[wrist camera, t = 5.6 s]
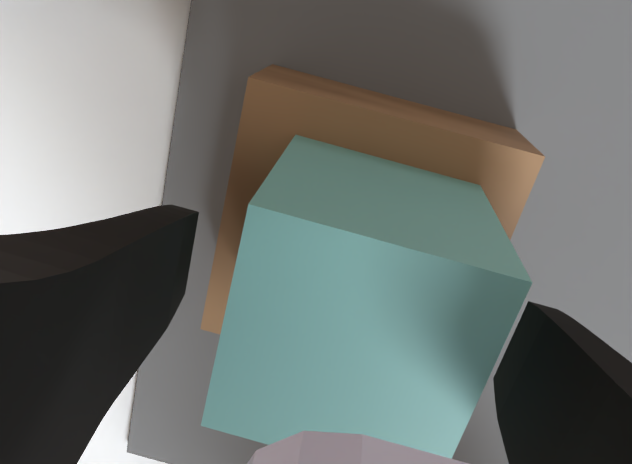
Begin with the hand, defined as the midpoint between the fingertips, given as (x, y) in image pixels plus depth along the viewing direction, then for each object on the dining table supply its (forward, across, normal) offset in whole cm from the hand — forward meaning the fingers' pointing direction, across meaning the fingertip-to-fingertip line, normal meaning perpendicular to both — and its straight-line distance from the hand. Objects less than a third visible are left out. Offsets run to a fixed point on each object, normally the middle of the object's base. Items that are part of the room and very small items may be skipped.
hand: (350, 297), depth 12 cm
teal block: (+2, 0, 0) cm, 2 cm away
